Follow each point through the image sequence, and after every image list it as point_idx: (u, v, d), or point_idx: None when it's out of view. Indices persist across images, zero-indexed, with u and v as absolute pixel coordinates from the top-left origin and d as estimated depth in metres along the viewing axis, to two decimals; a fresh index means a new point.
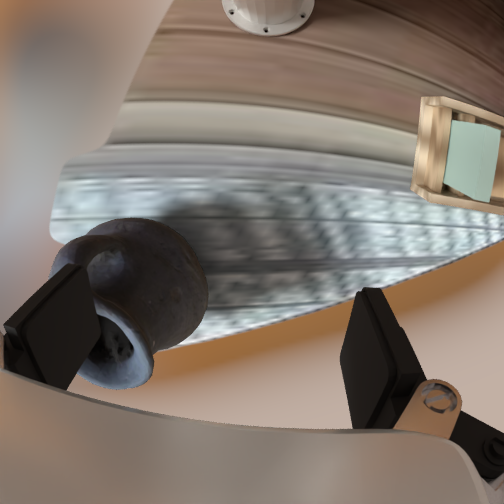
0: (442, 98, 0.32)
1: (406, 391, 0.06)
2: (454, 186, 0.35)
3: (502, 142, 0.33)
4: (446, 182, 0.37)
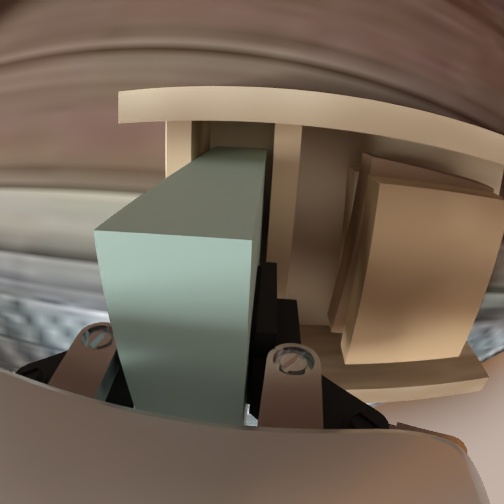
0: None
1: (268, 352, 0.08)
2: None
3: (429, 206, 0.11)
4: None
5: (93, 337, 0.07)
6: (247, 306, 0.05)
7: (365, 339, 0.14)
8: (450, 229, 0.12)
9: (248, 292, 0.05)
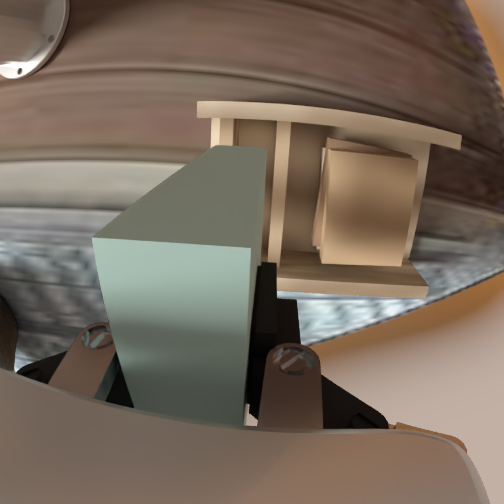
0: None
1: None
2: None
3: (361, 163, 0.22)
4: None
5: (93, 337, 0.07)
6: (246, 313, 0.05)
7: (332, 245, 0.25)
8: (377, 176, 0.22)
9: (247, 299, 0.05)
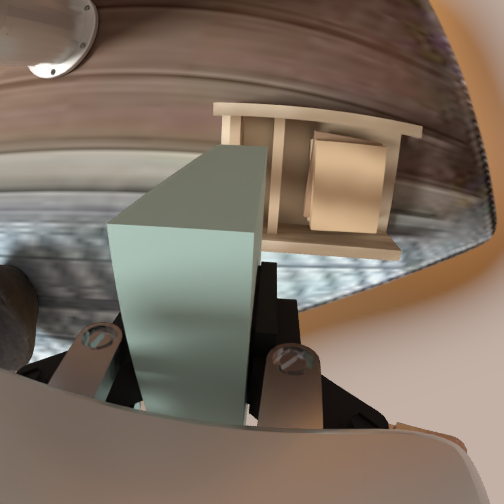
0: (214, 105, 0.27)
1: (268, 352, 0.08)
2: None
3: (340, 149, 0.29)
4: None
5: (93, 337, 0.07)
6: (249, 294, 0.06)
7: (319, 214, 0.31)
8: (353, 160, 0.29)
9: (250, 281, 0.06)
